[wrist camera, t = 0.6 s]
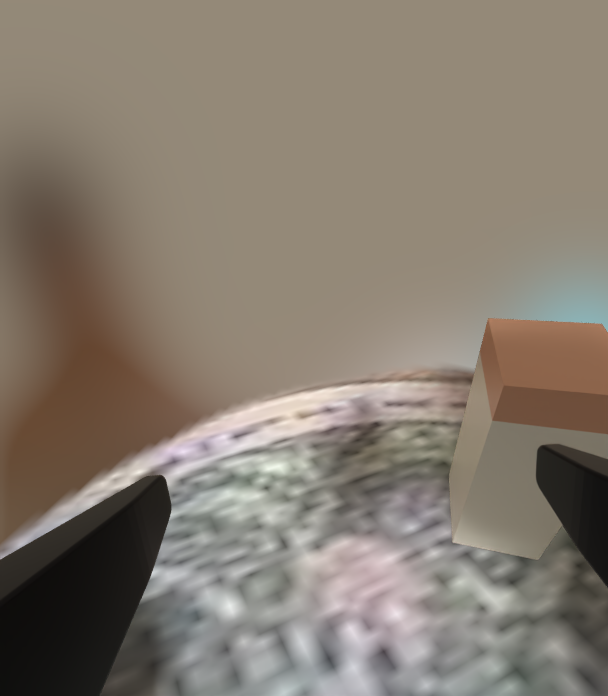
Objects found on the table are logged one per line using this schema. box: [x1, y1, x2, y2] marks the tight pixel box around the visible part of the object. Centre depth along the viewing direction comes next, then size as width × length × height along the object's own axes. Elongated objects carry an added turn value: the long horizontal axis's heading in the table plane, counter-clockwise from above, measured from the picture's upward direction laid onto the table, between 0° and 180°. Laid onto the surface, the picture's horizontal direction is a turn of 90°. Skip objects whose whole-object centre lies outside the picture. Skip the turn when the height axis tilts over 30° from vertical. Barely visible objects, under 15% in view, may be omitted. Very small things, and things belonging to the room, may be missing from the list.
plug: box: [449, 318, 608, 560], centre depth 18 cm, size 4×4×13 cm
